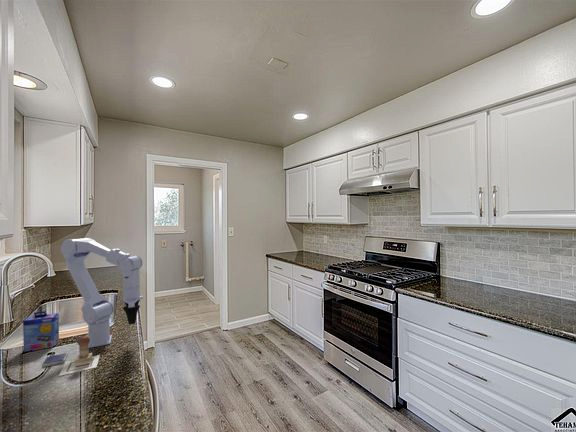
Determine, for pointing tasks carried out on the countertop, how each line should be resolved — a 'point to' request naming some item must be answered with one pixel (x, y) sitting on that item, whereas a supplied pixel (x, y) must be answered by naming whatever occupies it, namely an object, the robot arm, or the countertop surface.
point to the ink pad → (55, 360)
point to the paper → (71, 367)
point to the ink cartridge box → (40, 331)
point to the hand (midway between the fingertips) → (132, 320)
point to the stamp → (83, 352)
